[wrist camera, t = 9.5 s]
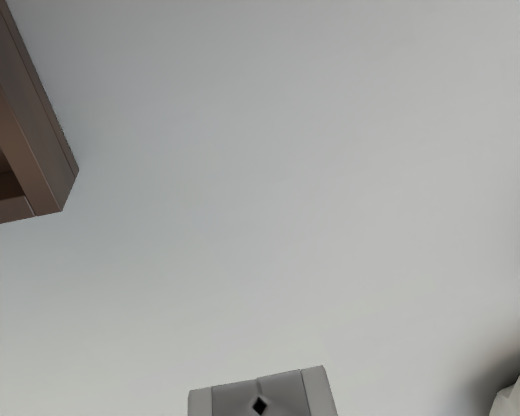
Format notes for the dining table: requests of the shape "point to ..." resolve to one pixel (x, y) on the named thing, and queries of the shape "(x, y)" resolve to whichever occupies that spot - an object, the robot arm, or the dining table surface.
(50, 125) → the window frame
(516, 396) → the vase
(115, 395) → the dining table surface
